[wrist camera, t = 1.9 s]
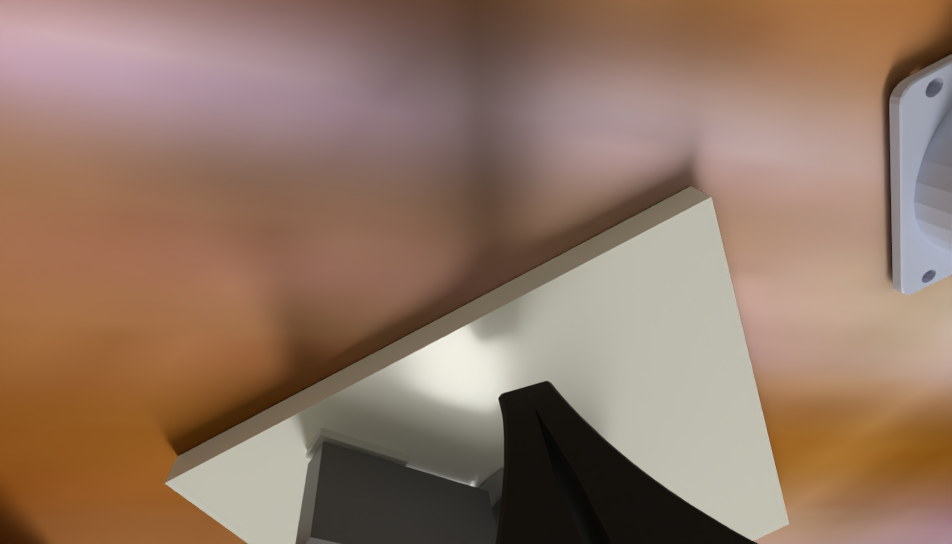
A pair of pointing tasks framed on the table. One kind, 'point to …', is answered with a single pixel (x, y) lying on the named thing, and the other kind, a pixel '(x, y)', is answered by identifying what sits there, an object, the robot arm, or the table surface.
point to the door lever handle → (389, 504)
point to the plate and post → (530, 362)
